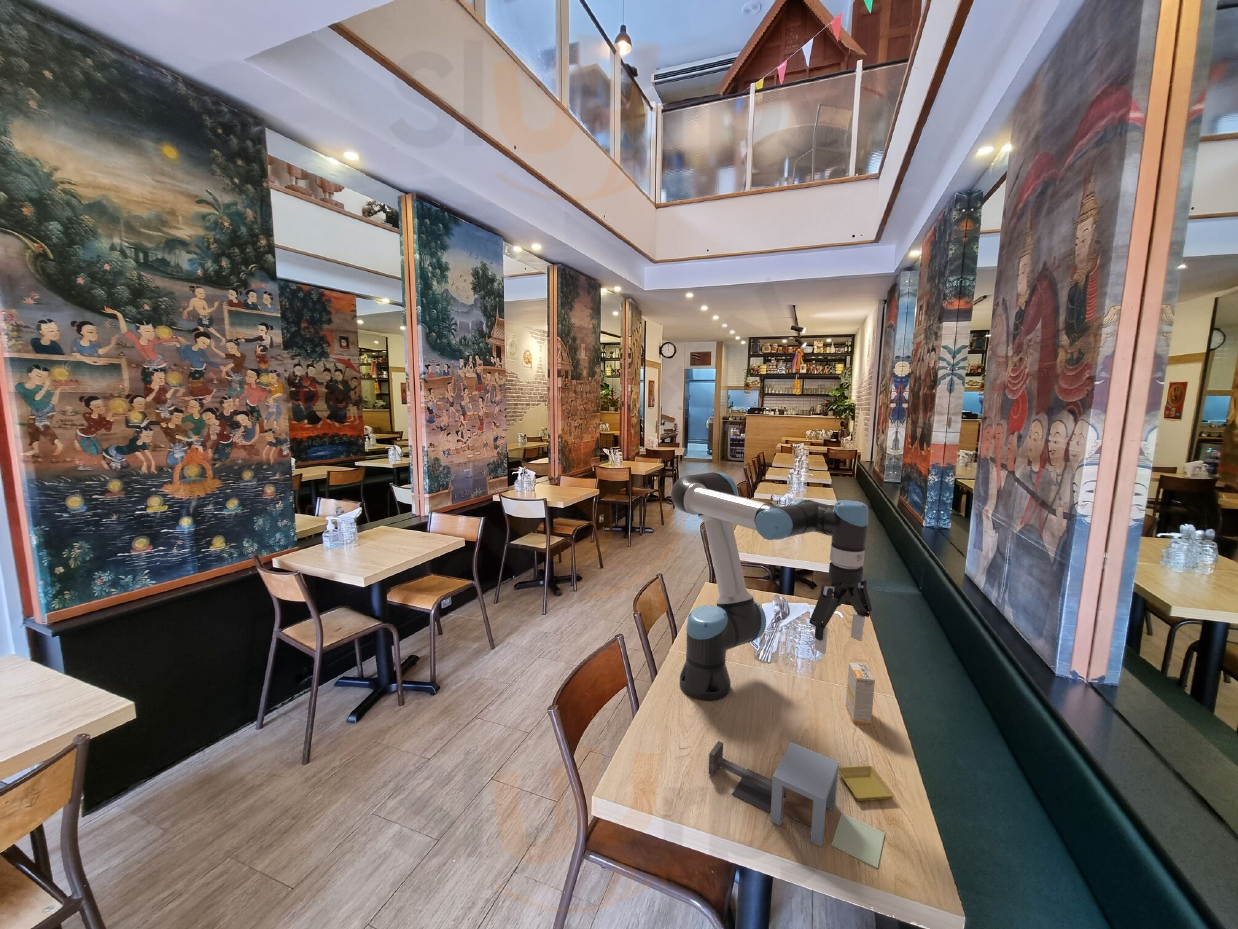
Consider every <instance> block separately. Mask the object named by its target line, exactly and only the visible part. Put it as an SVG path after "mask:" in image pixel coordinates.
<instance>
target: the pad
mask: <svg viewBox="0 0 1238 929" xmlns="http://www.w3.org/2000/svg"><path fill="white" fill-rule="evenodd" d="M885 834H886V833H885V832H883V831H881V830H879V829H877V828H875V827H873V826H870V825H869V824H866V823H864V822H862V821H860V820H857V819H856V818H854V817H851V816H850V815H847V814H846V813H845V814H844V813H843V812H841V814H840V817H839V820H838V823H837V826H836V829H835V833H834V835H833V839H832V842H831V846H832V847H834V848H836V849H839V851H842V852H844V853H846V854H848V855H850V856H851V857H854V858H856V859H857V860H859V861H861V862H864V863H866V864H867V865H869V866H871V867H874V868H875V869H878V867H879V863H880V858H881V853H882V849H883V844H884V839H885Z"/></svg>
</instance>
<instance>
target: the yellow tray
mask: <svg viewBox="0 0 1238 929" xmlns="http://www.w3.org/2000/svg"><path fill="white" fill-rule="evenodd" d="M838 775H840V777H841V778H842V780H843V781H844V782H845V783H846V785H847V787H848V789H850V792H852V794H853V796H854V797H855V798H856V800H857V801H859V802H861V801H862V802H863V801H864V802H865V801H879V800H888V799H892V798H893V797H895V794H894V793H893V791H892V790H891V789H890V787H889V786H888V785H887V784H886V782H885V781H884V780H883V779H882V777H881V776H880V774H879V773H878V772H877V771H876V769H875V768H874V767H873V766H871V765H860V766H855V765H854V766H841V767H840V766H839V770H838Z"/></svg>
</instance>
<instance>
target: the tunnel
mask: <svg viewBox="0 0 1238 929" xmlns="http://www.w3.org/2000/svg"><path fill="white" fill-rule="evenodd" d="M839 767H840V762H839V761H838V760H836V759H834V758H830V757H829V756H826V755H824V754H821V753H819V752H816V751H814V750H811V749H809V748H806V747H804V746H802V745H799V744H796V743H794V742H792V741H791V742H789V745H788V747H787V748H786V750H785V752H784V754H783V756H782V757H781V760H780V762H779V763H778V765H777V767H776V769H775V771H774V773H773V775H772V779H771V780H772V798H771V808H770V815H769V816H770V818H769V821H770V822H772V823H774V824H776V825H777V826H781V824H782V822H783V816H784V804H785V803H784V800H785V798H784V787H785V788H788V789H790V790H792V791H795V792H797V793H799V794H801V795H803V796H805V797H807V798H809V799H812V800H813V814H812V827H811V829H810V830H811V831H810V843H813V844H814V845H816V846H818V847H820V848H822V846H823V843H824V835H825V823H826V811H827V810H826V808H828V809H830V810H832V811H835V809H836V805H837V793H838V781H839V772H838V770H839Z"/></svg>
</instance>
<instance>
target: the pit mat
mask: <svg viewBox="0 0 1238 929" xmlns="http://www.w3.org/2000/svg"><path fill="white" fill-rule="evenodd" d="M746 769H747V770H749V771H751V772H753V773H756V774H758V775H760V776H762V777H764V778H766V779H768V780H771V781H772V780H773V779H770V778H769V777H766V776H764V775H762V774H760V773H757V772H755V771H754V770H751V769H749V768H746ZM740 778H741V777H740ZM731 795H732V796H734V797H735V798H739V799H740V800H741V801H744V802H746V803H747V804H749V805H752V806H754V807H756V808H758V809H760V810H761V811H763V812H766V813H767V814H768V813H769V812H770V811H771V798H772V792H770V791H768V790H766V789H764V788H762V787H760V786H758V785H756V784H754V783H752V782H750V781H748V780H746V779H743V778H741V779H740V780H739V782H738V783H737V784H736V787H735V788H734V790H733V791H732V793H731Z"/></svg>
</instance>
